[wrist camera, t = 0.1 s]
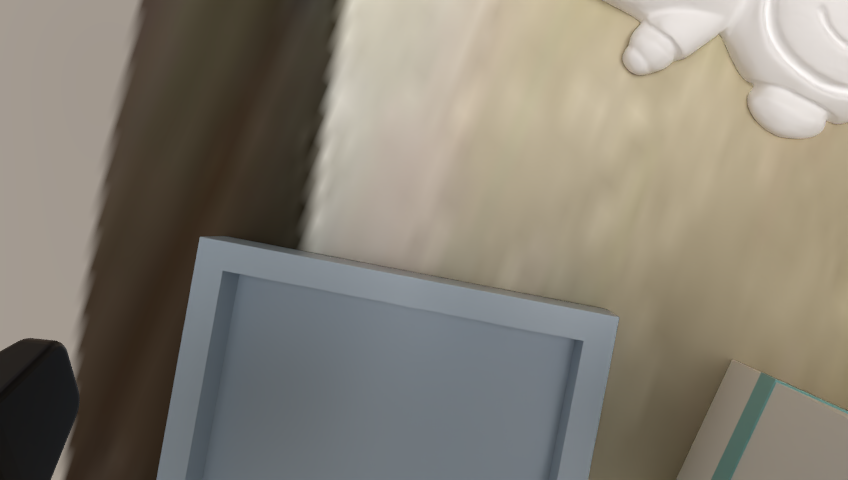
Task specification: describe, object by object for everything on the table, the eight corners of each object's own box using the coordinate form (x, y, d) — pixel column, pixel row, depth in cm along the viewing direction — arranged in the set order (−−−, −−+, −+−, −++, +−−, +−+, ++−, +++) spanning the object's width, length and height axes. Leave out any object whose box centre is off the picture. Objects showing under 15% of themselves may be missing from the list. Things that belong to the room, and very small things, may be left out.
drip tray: (532, 692, 24) (537, 739, 21) (158, 606, 24) (126, 644, 22) (606, 309, 23) (619, 317, 21) (225, 236, 24) (200, 236, 22)
